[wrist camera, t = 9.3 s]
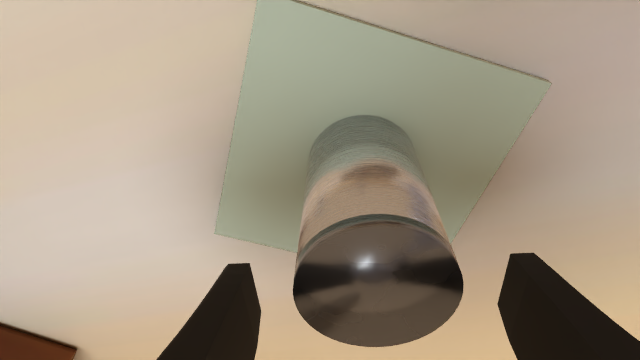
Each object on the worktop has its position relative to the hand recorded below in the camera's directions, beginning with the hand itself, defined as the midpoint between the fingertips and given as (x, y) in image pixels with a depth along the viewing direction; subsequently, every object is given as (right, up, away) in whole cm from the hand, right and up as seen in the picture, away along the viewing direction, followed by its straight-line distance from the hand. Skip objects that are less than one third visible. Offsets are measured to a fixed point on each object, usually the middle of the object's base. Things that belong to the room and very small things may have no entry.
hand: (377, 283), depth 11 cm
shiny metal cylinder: (0, +4, +5) cm, 6 cm away
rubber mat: (0, +4, +6) cm, 7 cm away
